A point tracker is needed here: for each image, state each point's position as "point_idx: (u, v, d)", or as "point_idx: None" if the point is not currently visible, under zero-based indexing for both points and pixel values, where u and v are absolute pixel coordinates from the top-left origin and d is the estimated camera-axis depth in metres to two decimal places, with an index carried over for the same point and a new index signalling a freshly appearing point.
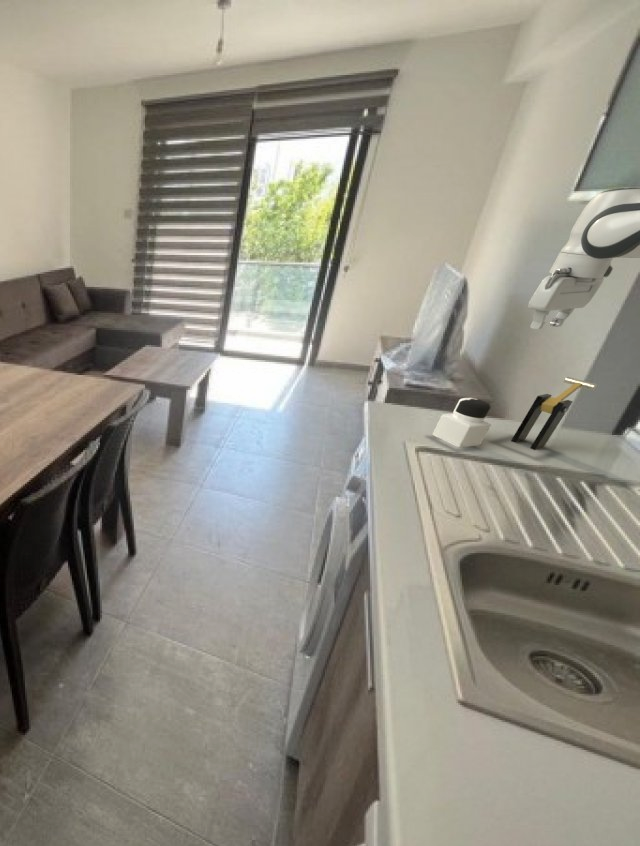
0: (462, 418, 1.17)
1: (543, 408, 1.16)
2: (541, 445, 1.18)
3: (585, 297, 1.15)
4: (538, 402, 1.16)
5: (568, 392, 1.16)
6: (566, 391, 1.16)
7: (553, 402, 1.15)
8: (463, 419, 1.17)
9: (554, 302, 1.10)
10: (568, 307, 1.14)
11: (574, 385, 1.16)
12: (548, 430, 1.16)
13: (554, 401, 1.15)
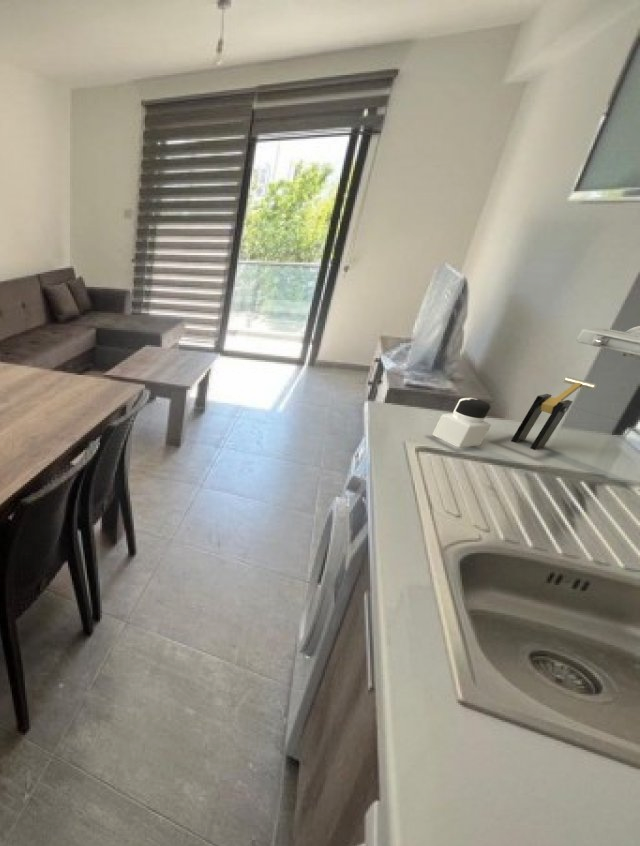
0: (462, 418, 1.17)
1: (543, 408, 1.16)
2: (541, 445, 1.18)
3: None
4: (538, 402, 1.16)
5: (568, 392, 1.16)
6: (566, 391, 1.16)
7: (553, 402, 1.15)
8: (463, 419, 1.17)
9: (598, 330, 1.26)
10: (639, 340, 1.19)
11: (574, 385, 1.16)
12: (548, 430, 1.16)
13: (554, 401, 1.15)
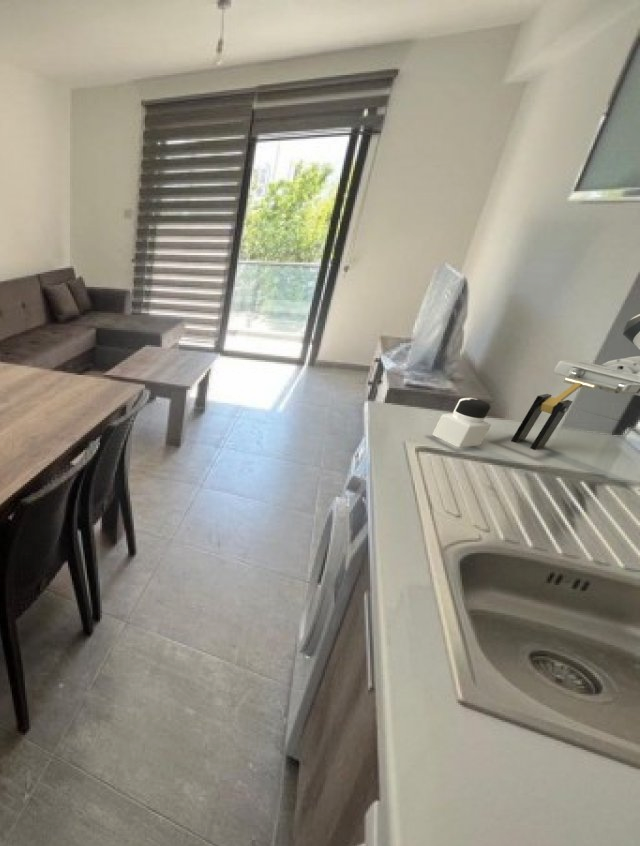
0: (462, 418, 1.17)
1: (543, 408, 1.16)
2: (541, 445, 1.18)
3: None
4: (538, 402, 1.16)
5: (568, 392, 1.16)
6: (566, 391, 1.16)
7: (553, 402, 1.15)
8: (463, 419, 1.17)
9: (574, 362, 1.27)
10: (614, 373, 1.20)
11: (574, 385, 1.16)
12: (548, 430, 1.16)
13: (554, 401, 1.15)
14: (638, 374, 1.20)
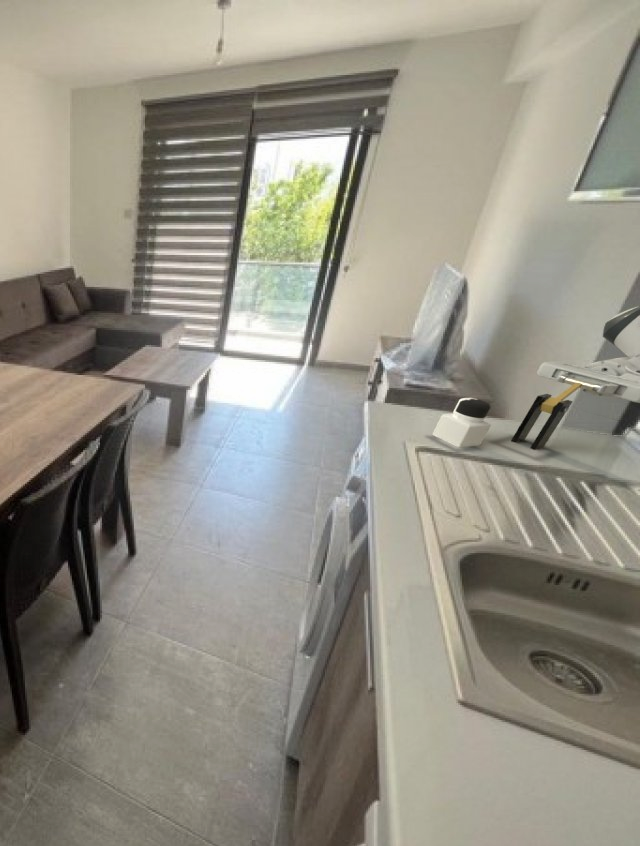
0: (462, 418, 1.17)
1: (543, 408, 1.16)
2: (541, 445, 1.18)
3: (634, 383, 1.13)
4: (538, 402, 1.16)
5: (568, 392, 1.16)
6: (566, 391, 1.16)
7: (553, 402, 1.15)
8: (463, 419, 1.17)
9: (557, 364, 1.24)
10: (597, 375, 1.17)
11: (574, 385, 1.16)
12: (548, 430, 1.16)
13: (554, 401, 1.15)
14: (622, 376, 1.16)
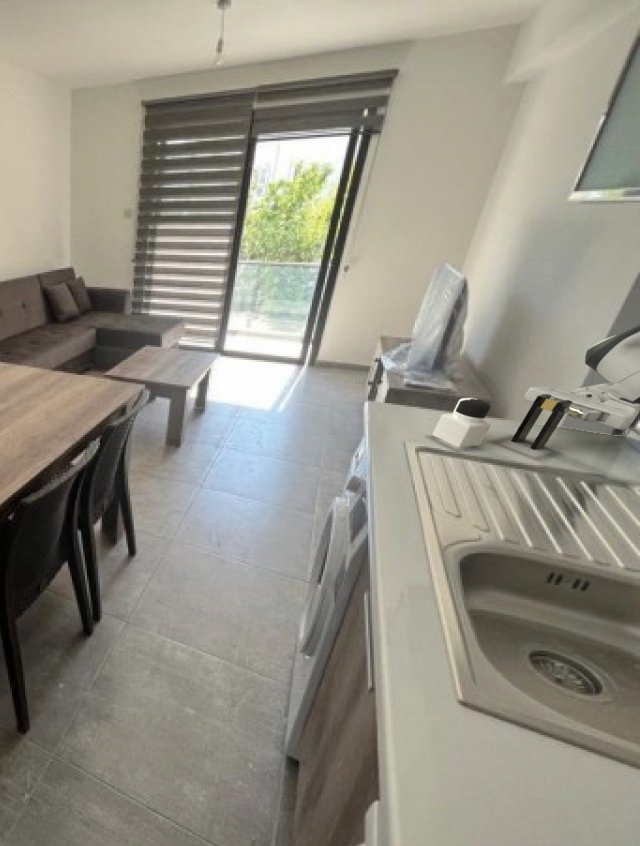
0: (462, 418, 1.17)
1: (544, 405, 1.16)
2: (541, 445, 1.18)
3: (616, 410, 1.17)
4: (538, 402, 1.16)
5: None
6: None
7: (555, 401, 1.15)
8: (463, 419, 1.17)
9: (544, 389, 1.28)
10: (582, 402, 1.20)
11: None
12: (548, 430, 1.16)
13: (556, 401, 1.15)
14: (606, 403, 1.20)
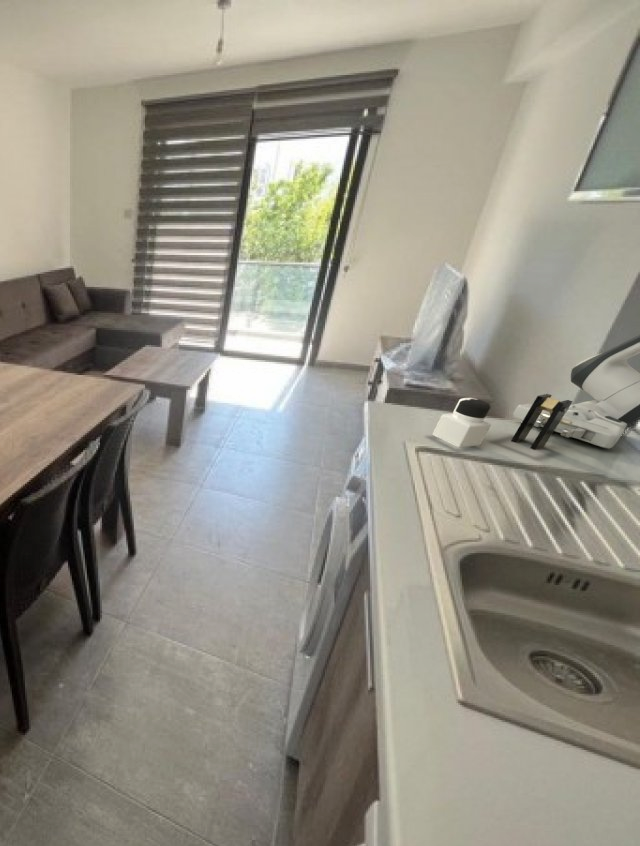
0: (462, 418, 1.17)
1: (545, 403, 1.15)
2: (541, 445, 1.18)
3: (602, 429, 1.19)
4: (538, 402, 1.16)
5: None
6: None
7: None
8: (463, 419, 1.17)
9: None
10: None
11: None
12: (548, 430, 1.16)
13: None
14: (592, 421, 1.23)
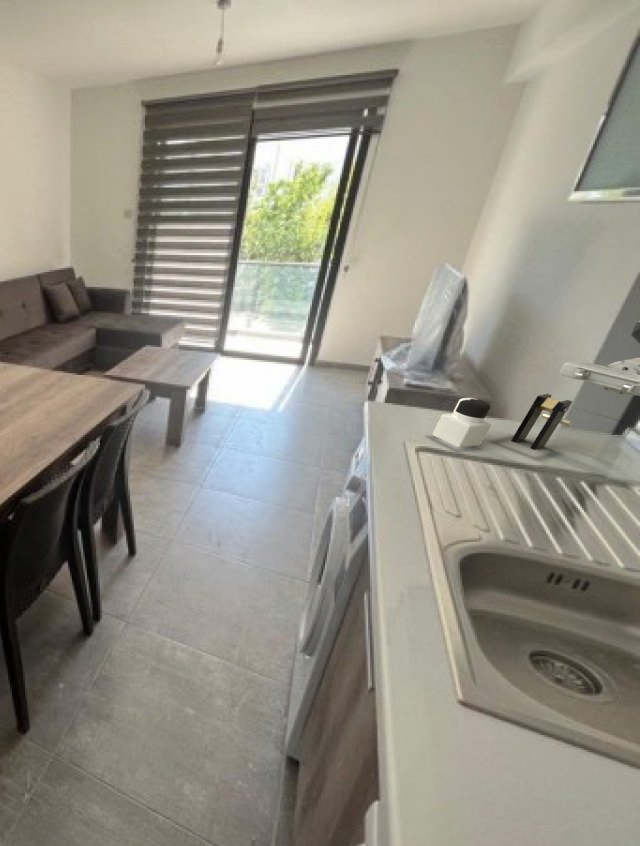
0: (462, 418, 1.17)
1: (545, 403, 1.15)
2: (541, 445, 1.18)
3: None
4: (538, 402, 1.16)
5: None
6: None
7: None
8: (463, 419, 1.17)
9: (579, 363, 1.29)
10: (619, 374, 1.22)
11: None
12: (548, 430, 1.16)
13: None
14: None
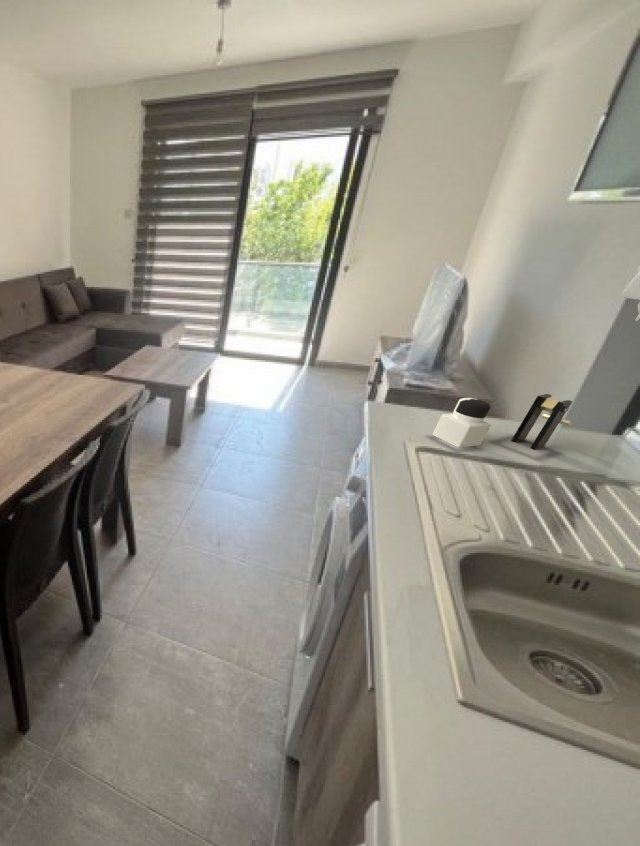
0: (462, 418, 1.17)
1: (545, 403, 1.15)
2: (541, 445, 1.18)
3: None
4: (538, 402, 1.16)
5: None
6: None
7: None
8: (463, 419, 1.17)
9: (639, 290, 1.12)
10: None
11: None
12: (548, 430, 1.16)
13: None
14: None
